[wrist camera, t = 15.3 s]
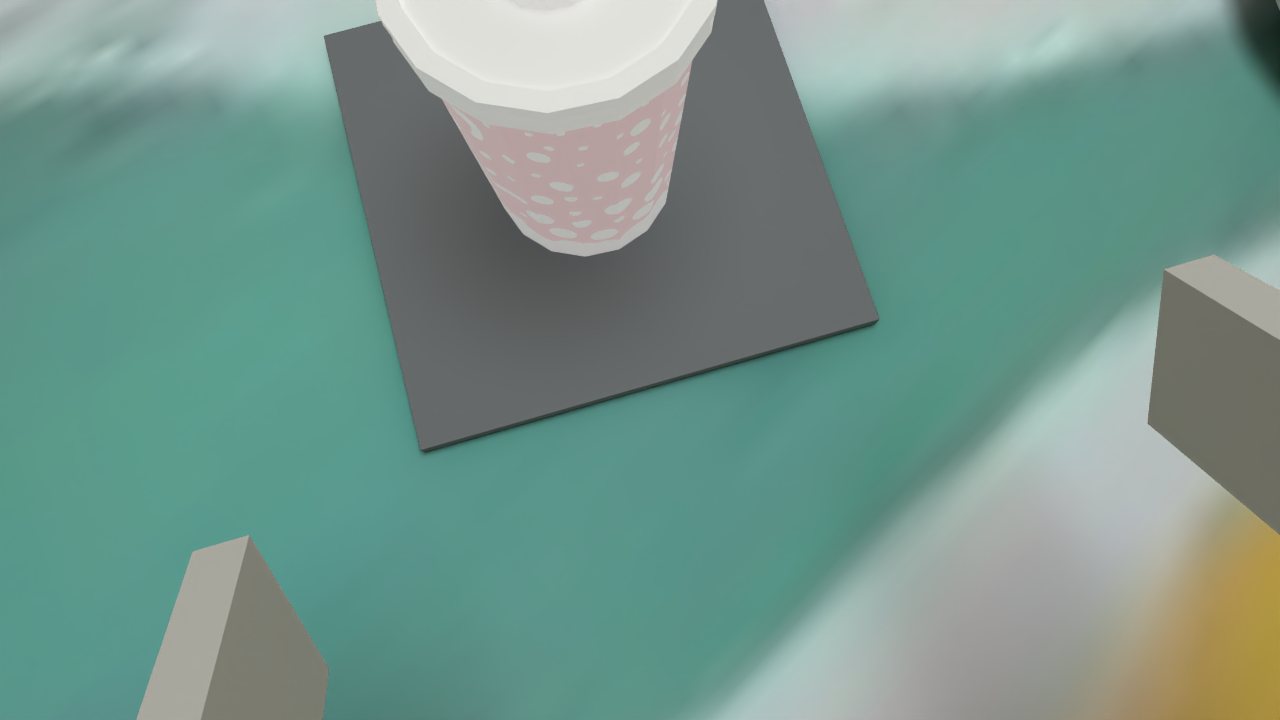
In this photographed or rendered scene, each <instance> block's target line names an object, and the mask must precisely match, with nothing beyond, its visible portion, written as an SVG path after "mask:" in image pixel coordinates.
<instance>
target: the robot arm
mask: <svg viewBox="0 0 1280 720" xmlns="http://www.w3.org/2000/svg"><path fill="white" fill-rule="evenodd" d="M1148 424H1149V425H1150V426H1151V427H1152V428H1154V429H1155V430H1156V431H1157V432H1158V433H1159V434H1161V435H1162V436H1163V437H1164V438H1165V439H1167V440H1168V441H1169V442H1170V443H1171V444H1173V445H1174V446H1175V447H1176V448H1177V449H1178V450H1180V451H1181V452H1182V453H1183V454H1184V455H1186V456H1187V457H1188V458H1189V459H1190V460H1192V461H1193V462H1194V463H1195V464H1196V465H1198V466H1199V467H1200V468H1201V469H1202V470H1203V471H1205V472H1206V473H1207V474H1208V475H1209V476H1211V477H1212V478H1213V479H1214V480H1215V481H1217V482H1218V483H1219V484H1220V485H1221V486H1222V487H1224V488H1225V489H1226V490H1227V491H1228V492H1230V493H1231V494H1232V495H1233V496H1234V497H1236V498H1237V499H1238V500H1239V501H1240V502H1241V503H1243V504H1244V505H1245V506H1246V507H1247V508H1249V509H1250V510H1251V511H1252V512H1253V513H1255V514H1256V515H1257V516H1258V517H1259V518H1260V519H1262V520H1263V521H1264V522H1265V523H1266V524H1268V525H1269V526H1270V527H1271V528H1272V529H1274V530H1275V531H1276V532H1277V533H1278V534H1279V535H1280V291H1279V290H1277V289H1275V288H1274V287H1272V286H1270V285H1268V284H1266V283H1265V282H1263V281H1261V280H1259V279H1257V278H1256V277H1254V276H1252V275H1250V274H1248V273H1246V272H1245V271H1243V270H1241V269H1239V268H1237V267H1236V266H1234V265H1232V264H1230V263H1228V262H1227V261H1225V260H1223V259H1221V258H1219V257H1218V256H1216V255H1212V256H1208V257H1205V258H1201V259H1198V260H1194V261H1191V262H1188V263H1184V264H1181V265H1177V266H1174V267H1170V268H1167V269H1164V274H1163V283H1162V292H1161V302H1160V311H1159V321H1158V330H1157V339H1156V349H1155V358H1154V367H1153V377H1152V386H1151V396H1150V405H1149V414H1148ZM328 674H329V667H328V666H327V664H326V662H325V661H324V659H323V657H322V656H321V654H320V652H319V651H318V649H317V647H316V646H315V644H314V642H313V641H312V639H311V637H310V636H309V634H308V632H307V631H306V629H305V627H304V626H303V624H302V622H301V621H300V619H299V617H298V616H297V614H296V612H295V611H294V609H293V607H292V606H291V604H290V602H289V600H288V599H287V597H286V595H285V594H284V592H283V590H282V589H281V587H280V585H279V584H278V582H277V580H276V579H275V577H274V575H273V574H272V572H271V570H270V569H269V567H268V565H267V564H266V562H265V560H264V559H263V557H262V555H261V554H260V552H259V550H258V549H257V547H256V545H255V544H254V542H253V540H252V539H251V537H250V535H248V536H244V537H241V538H237V539H234V540H231V541H227V542H224V543H220V544H217V545H213V546H210V547H206V548H203V549H200V550H196V551H193V553H192V556H191V558H190V561H189V564H188V567H187V570H186V573H185V576H184V579H183V582H182V585H181V588H180V591H179V594H178V597H177V600H176V603H175V606H174V609H173V612H172V615H171V618H170V621H169V624H168V627H167V630H166V633H165V636H164V639H163V642H162V645H161V648H160V651H159V654H158V657H157V660H156V663H155V666H154V669H153V672H152V675H151V678H150V681H149V684H148V687H147V690H146V692H145V695H144V698H143V701H142V704H141V707H140V710H139V713H138V716H137V719H136V720H323V713H324V705H325V698H326V690H327V682H328Z"/></svg>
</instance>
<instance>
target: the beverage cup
mask: <svg viewBox="0 0 1280 720" xmlns="http://www.w3.org/2000/svg"><path fill="white" fill-rule="evenodd" d="M717 1H718V0H376V4H377V10H378V16H379V18H380V20H381V22H382V24H383V26H384V27H385V28H386V30H387V31H388V33H389V34H390V35H391V37H392V39H393V42H394V44H395V45H396V46H397V48H398V49H399V51H400V52H401V53H402V55H403V56H404V58H405V59H406V60H407V62H408V63H409V64H410V66H411V67H412V69H413V70H414V71H415V73H416V74H417V76H418V77H419V78H420V80H421V81H422V82H423V84H424V85H425V87H426V88H427V89H428V91H429V92H431V93H433V94H434V95H436V96H438V97H440V98H441V99H442V100H443V102H444V104H445V106H446V107H447V109H448V111H449V113H450V114H451V116H452V118H453V120H454V121H455V123H456V125H457V126H458V128H459V130H460V132H461V133H462V135H463V137H464V139H465V140H466V142H467V144H468V146H469V147H470V149H471V151H472V153H473V154H474V156H475V158H476V160H477V161H478V163H479V165H480V167H481V168H482V170H483V172H484V174H485V175H486V177H487V179H488V180H489V182H490V184H491V186H492V187H493V189H494V191H495V193H496V194H497V196H498V198H499V200H500V201H501V203H502V205H503V207H504V208H505V210H506V211H507V212H508V214H509V215H510V217H511V218H512V219H513V221H514V222H515V224H516V225H517V226H518V228H519V229H520V230H521V232H522V233H523V234H524V235H525V236H527V237H529V238H530V239H532V240H534V241H535V242H537V243H539V244H540V245H542V246H544V247H545V248H547V249H549V250H550V251H553V252H560V253H566V254H572V255H578V256H585V257H586V256H591V255H595V254H600V253H604V252H609V251H614V250H618V249H620V248H622V247H623V246H625V245H626V244H628V243H629V242H631V241H632V240H634V239H635V238H637V237H638V236H640V235H641V234H643V233H644V232H646V231H647V230H648V229H649V227H650V226H651V224H652V223H653V221H654V220H655V218H656V217H657V215H658V214H659V212H660V211H661V209H662V208H663V206H664V205H665V203H666V198H667V193H668V187H669V182H670V177H671V171H672V166H673V161H674V155H675V150H676V145H677V140H678V134H679V129H680V124H681V118H682V113H683V108H684V102H685V97H686V92H687V86H688V81H689V76H690V70H691V65H692V60H693V58H694V57H695V55H696V54H697V52H698V51H699V50H700V48H701V47H702V45H703V44H704V42H705V41H706V39H707V38H708V36H709V35H710V34H711V32H712V26H713V20H714V16H715V12H716V6H717Z"/></svg>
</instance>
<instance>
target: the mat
mask: <svg viewBox="0 0 1280 720" xmlns="http://www.w3.org/2000/svg"><path fill="white" fill-rule="evenodd" d="M324 39H325V43H326V48H327V52H328V56H329V61H330V65H331V69H332V73H333V78H334V82H335V86H336V91H337V95H338V99H339V103H340V108H341V112H342V116H343V121H344V125H345V129H346V133H347V138H348V142H349V146H350V151H351V155H352V159H353V163H354V168H355V172H356V176H357V180H358V185H359V189H360V193H361V198H362V202H363V206H364V210H365V215H366V219H367V223H368V228H369V232H370V236H371V240H372V245H373V249H374V253H375V258H376V262H377V266H378V270H379V275H380V279H381V283H382V288H383V292H384V296H385V300H386V305H387V309H388V313H389V317H390V322H391V326H392V330H393V335H394V339H395V343H396V347H397V352H398V356H399V360H400V365H401V369H402V373H403V377H404V382H405V386H406V390H407V395H408V399H409V403H410V407H411V412H412V416H413V420H414V425H415V429H416V433H417V437H418V442H419V446H420V450H421V451H423V452H427V451H430V450H434V449H437V448H441V447H444V446H448V445H451V444H455V443H458V442H462V441H465V440H469V439H472V438H476V437H479V436H483V435H486V434H490V433H493V432H497V431H500V430H504V429H507V428H511V427H514V426H518V425H522V424H525V423H529V422H532V421H536V420H539V419H543V418H546V417H550V416H553V415H557V414H560V413H564V412H567V411H571V410H574V409H578V408H581V407H585V406H588V405H592V404H595V403H599V402H602V401H606V400H609V399H613V398H616V397H620V396H623V395H627V394H630V393H634V392H637V391H641V390H644V389H648V388H651V387H655V386H658V385H662V384H665V383H669V382H672V381H676V380H679V379H683V378H686V377H690V376H693V375H697V374H700V373H704V372H707V371H711V370H714V369H718V368H721V367H725V366H728V365H732V364H735V363H739V362H742V361H746V360H749V359H753V358H756V357H760V356H763V355H767V354H770V353H774V352H777V351H781V350H784V349H788V348H791V347H795V346H798V345H802V344H805V343H809V342H812V341H816V340H819V339H823V338H826V337H830V336H833V335H837V334H840V333H844V332H847V331H851V330H854V329H858V328H861V327H865V326H868V325H872V324H875V323H877V321H878V320H879V316H878V314H877V311H876V308H875V305H874V303H873V300H872V297H871V294H870V292H869V289H868V286H867V283H866V281H865V278H864V275H863V272H862V270H861V267H860V264H859V261H858V259H857V256H856V253H855V250H854V248H853V245H852V242H851V239H850V237H849V234H848V231H847V228H846V226H845V223H844V220H843V217H842V215H841V212H840V209H839V206H838V204H837V201H836V198H835V195H834V193H833V190H832V187H831V184H830V182H829V179H828V176H827V173H826V171H825V168H824V165H823V162H822V160H821V157H820V154H819V151H818V149H817V146H816V143H815V140H814V138H813V135H812V132H811V129H810V127H809V124H808V121H807V118H806V116H805V113H804V110H803V107H802V105H801V102H800V99H799V96H798V94H797V91H796V88H795V85H794V83H793V80H792V77H791V74H790V72H789V69H788V66H787V63H786V61H785V58H784V55H783V52H782V50H781V47H780V44H779V41H778V39H777V36H776V33H775V30H774V28H773V25H772V22H771V19H770V17H769V14H768V11H767V8H766V6H765V3H764V0H718V1H717V6H716V12H715V16H714V20H713V26H712V32H711V34H710V35H709V36H708V38H707V39H706V41H705V42H704V44H703V45H702V47H701V48H700V50H699V51H698V52H697V54H696V55H695V57H694V58H693V60H692V65H691V70H690V76H689V81H688V86H687V92H686V97H685V102H684V108H683V113H682V118H681V124H680V129H679V134H678V140H677V145H676V150H675V155H674V161H673V166H672V171H671V177H670V182H669V187H668V193H667V198H666V203H665V205H664V206H663V208H662V209H661V211H660V212H659V214H658V215H657V217H656V218H655V220H654V221H653V223H652V224H651V226H650V227H649V229H648V230H647V231H646V232H644V233H643V234H641V235H640V236H638V237H637V238H635V239H634V240H632V241H631V242H629V243H628V244H626V245H625V246H623V247H622V248H620V249H618V250H614V251H609V252H604V253H600V254H595V255H591V256H586V257H585V256H578V255H572V254H566V253H560V252H553V251H550V250H549V249H547V248H545V247H544V246H542V245H540V244H539V243H537V242H535V241H534V240H532V239H530V238H529V237H527V236H525V235H524V234H523V233H522V232H521V230H520V229H519V228H518V226H517V225H516V224H515V222H514V221H513V219H512V218H511V217H510V215H509V214H508V212H507V211H506V210H505V208H504V207H503V205H502V203H501V201H500V200H499V198H498V196H497V194H496V193H495V191H494V189H493V187H492V186H491V184H490V182H489V180H488V179H487V177H486V175H485V174H484V172H483V170H482V168H481V167H480V165H479V163H478V161H477V160H476V158H475V156H474V154H473V153H472V151H471V149H470V147H469V146H468V144H467V142H466V140H465V139H464V137H463V135H462V133H461V132H460V130H459V128H458V126H457V125H456V123H455V121H454V120H453V118H452V116H451V114H450V113H449V111H448V109H447V107H446V106H445V104H444V102H443V100H442V99H441V98H440V97H438V96H436V95H434V94H433V93H431V92H429V91H428V89H427V88H426V87H425V85H424V84H423V82H422V81H421V80H420V78H419V77H418V76H417V74H416V73H415V71H414V70H413V69H412V67H411V66H410V64H409V63H408V62H407V60H406V59H405V58H404V56H403V55H402V53H401V52H400V51H399V49H398V48H397V46H396V45H395V44H394V42H393V39H392V37H391V35H390V34H389V33H388V31H387V30H386V28H385V27H384V26H383V24H382V22H381V21H379V22H376V23H372V24H368V25H364V26H360V27H356V28H352V29H349V30H345V31H341V32H337V33H333V34H329V35H325V36H324Z"/></svg>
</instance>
